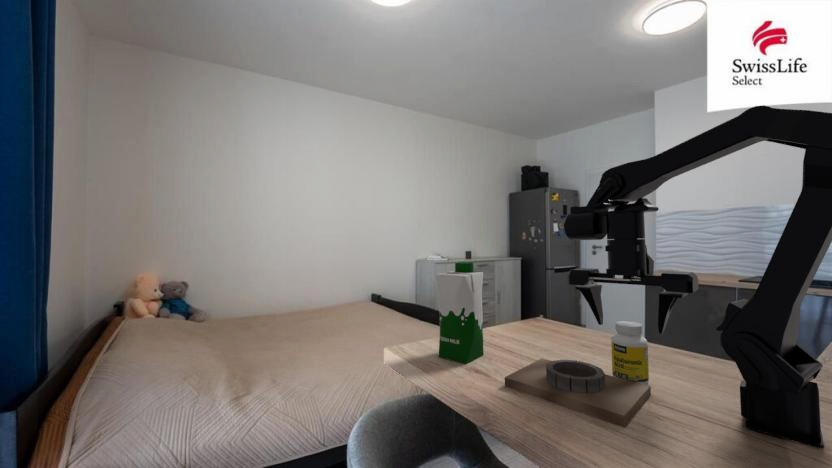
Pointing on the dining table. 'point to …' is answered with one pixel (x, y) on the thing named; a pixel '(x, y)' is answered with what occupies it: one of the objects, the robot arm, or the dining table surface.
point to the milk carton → (460, 313)
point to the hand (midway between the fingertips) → (629, 328)
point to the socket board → (585, 403)
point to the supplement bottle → (630, 353)
